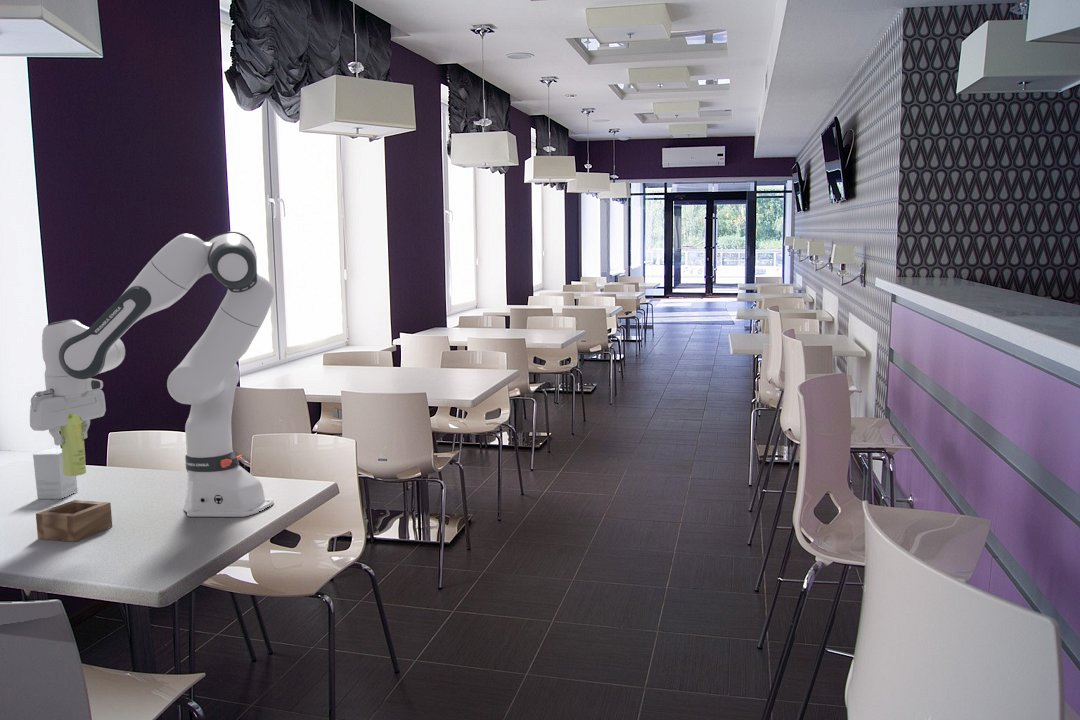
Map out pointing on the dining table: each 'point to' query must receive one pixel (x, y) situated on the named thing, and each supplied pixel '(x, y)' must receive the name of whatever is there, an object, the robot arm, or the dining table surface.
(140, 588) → the dining table surface
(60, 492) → the supplement box
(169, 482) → the dining table surface
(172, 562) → the dining table surface
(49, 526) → the wooden box
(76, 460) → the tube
